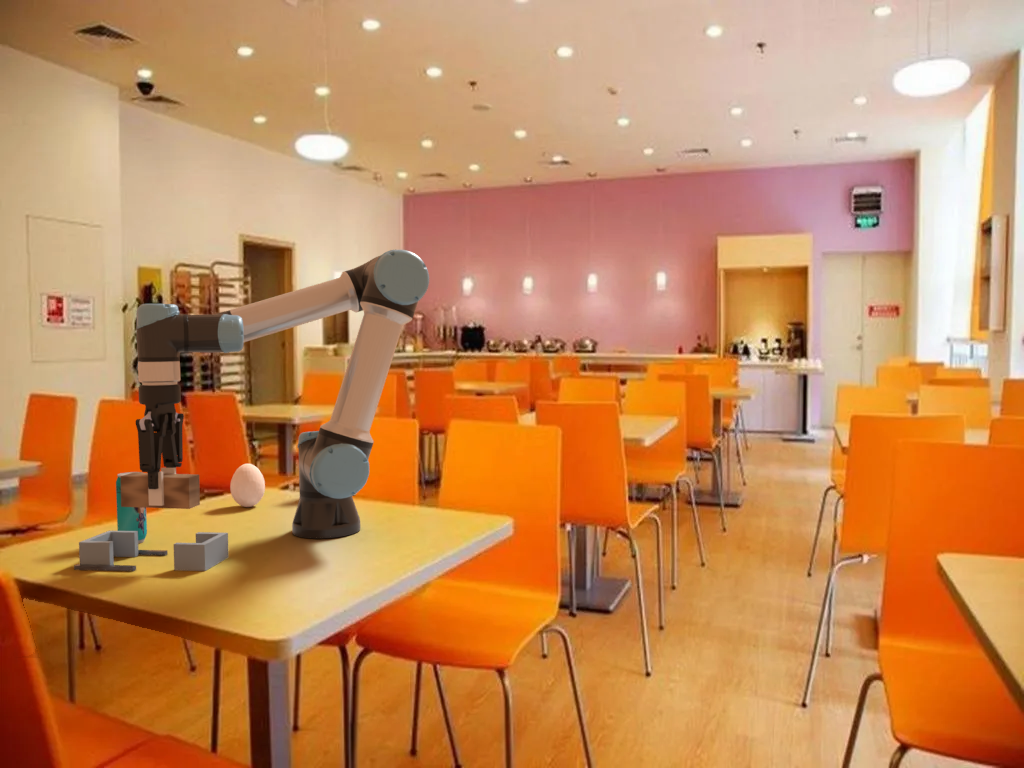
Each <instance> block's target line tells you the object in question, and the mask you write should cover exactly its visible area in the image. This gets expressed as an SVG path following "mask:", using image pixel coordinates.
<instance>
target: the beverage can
mask: <svg viewBox="0 0 1024 768" xmlns="http://www.w3.org/2000/svg"><path fill="white" fill-rule="evenodd" d="M130 473H143V472H142V471H130V472H129V471H128V472H120V473H117V475H116V477H117V478H116V481H115V493H116V520H117V521H116V522H117V524H116V525H117V531H138V545H139V544H141V543H144V542H145V540H146V537H147V534H148V527H147V526H148V524H147V522H148V521H147V508H144V507H121V476H123V475H126V474H130Z"/></svg>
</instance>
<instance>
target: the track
mask: <svg viewBox="0 0 1024 768" xmlns="http://www.w3.org/2000/svg"><path fill="white" fill-rule="evenodd" d="M138 553H139V555H138V556H163V557H164V556H167V555H168V550H167V549H165V550H164V549H163V550H161V549H160V550H159V549H138ZM73 569H74V571H105V572H106V571H107V572H108V571H109V572H110V571H113V572H134V571H137V565H129V564H127V565H125V564H124V565H123V564H114V565H88V564H80V563H78V564H74V565H73Z"/></svg>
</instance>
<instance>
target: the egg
mask: <svg viewBox="0 0 1024 768" xmlns="http://www.w3.org/2000/svg"><path fill="white" fill-rule="evenodd" d="M265 484H266V481H265V478H264V475H263V473H262V472H261V471H260V469H259V467H257V466H255V465H254V464H253V463H244V464H242V465H240V466H239V467H238V468H236V470H235V471H234V473H233V475H232V478H231V480H230V487H229V489H230V493H231V497H232V498H233V500H234V502H235V503H236V504H238V505H239V506H241V507H244V508H251V507H254V506H256V505H257V504H258V503H260V501H261V500H262V499H263V497H264V495H265V493H266V492H265V490H266V485H265Z"/></svg>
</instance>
